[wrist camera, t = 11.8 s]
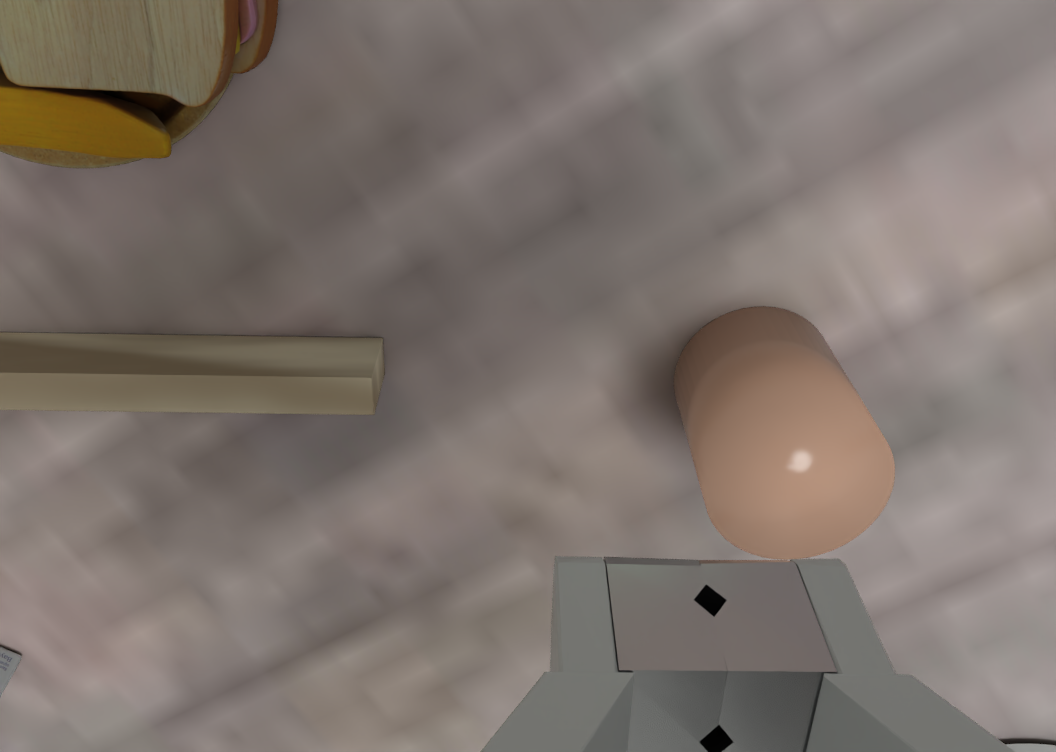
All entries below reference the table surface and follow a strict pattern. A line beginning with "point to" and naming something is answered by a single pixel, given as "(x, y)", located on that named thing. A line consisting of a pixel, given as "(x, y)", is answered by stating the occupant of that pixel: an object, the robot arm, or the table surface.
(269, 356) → the frame
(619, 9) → the table surface
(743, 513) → the peach rounded cylinder
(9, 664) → the medicine box
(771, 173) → the table surface
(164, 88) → the toy sandwich meal
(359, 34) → the table surface
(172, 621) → the table surface
